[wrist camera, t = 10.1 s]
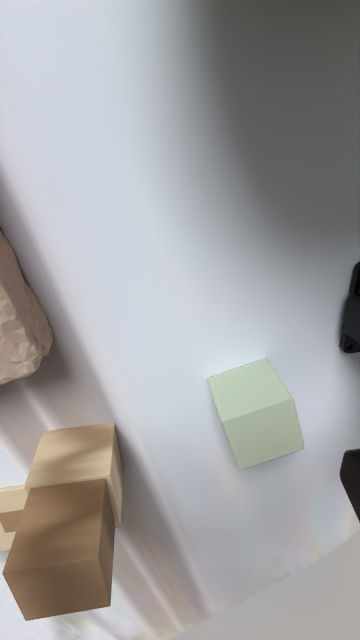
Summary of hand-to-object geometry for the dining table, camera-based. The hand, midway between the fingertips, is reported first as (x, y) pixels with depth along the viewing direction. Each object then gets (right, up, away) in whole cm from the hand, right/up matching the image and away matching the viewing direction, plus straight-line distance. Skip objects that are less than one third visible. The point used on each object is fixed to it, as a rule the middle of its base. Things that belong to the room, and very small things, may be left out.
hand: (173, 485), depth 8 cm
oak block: (-7, -6, +16) cm, 19 cm away
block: (+5, -1, +16) cm, 16 cm away
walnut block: (-6, -8, +12) cm, 16 cm away
